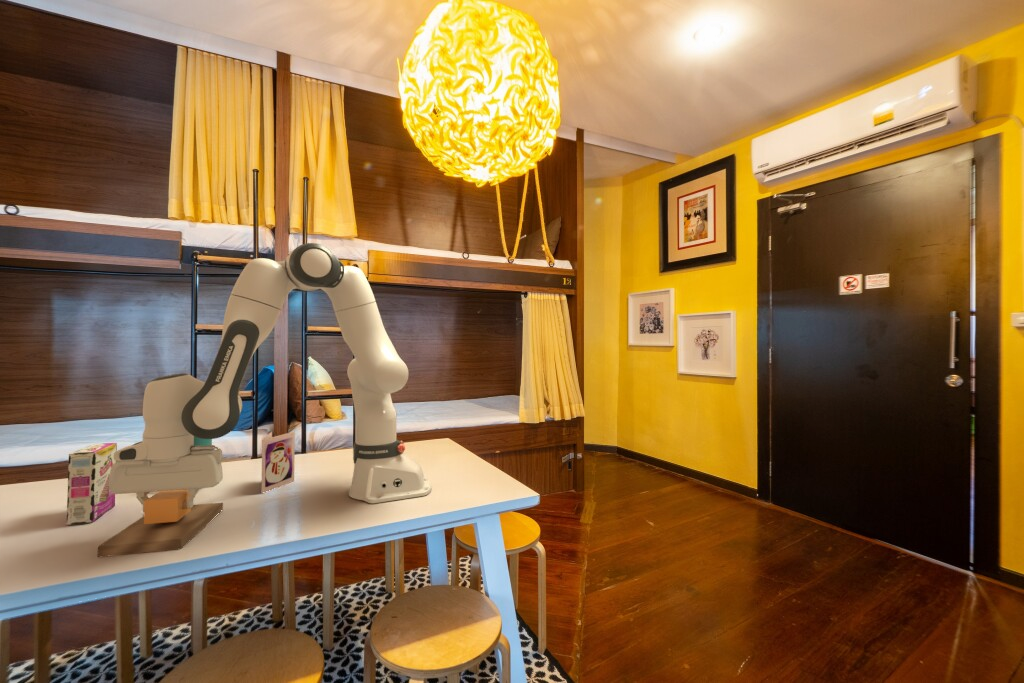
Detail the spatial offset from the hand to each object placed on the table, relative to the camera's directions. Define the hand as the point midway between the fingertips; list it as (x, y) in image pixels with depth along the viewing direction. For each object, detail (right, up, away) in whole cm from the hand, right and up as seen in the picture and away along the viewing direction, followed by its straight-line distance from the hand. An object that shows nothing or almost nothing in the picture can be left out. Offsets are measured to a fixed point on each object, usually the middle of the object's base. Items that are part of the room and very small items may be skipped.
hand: (168, 509), depth 93 cm
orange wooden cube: (0, -2, 0) cm, 2 cm away
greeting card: (+6, -5, +29) cm, 30 cm away
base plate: (0, -5, 0) cm, 5 cm away
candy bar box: (-25, -5, +8) cm, 27 cm away
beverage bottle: (-14, -5, +28) cm, 32 cm away
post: (0, -3, 0) cm, 3 cm away
